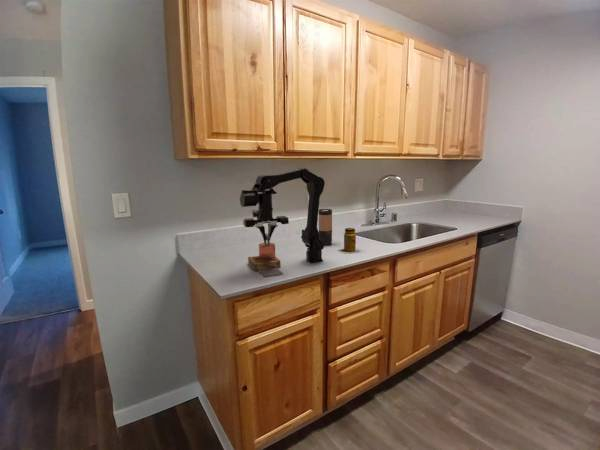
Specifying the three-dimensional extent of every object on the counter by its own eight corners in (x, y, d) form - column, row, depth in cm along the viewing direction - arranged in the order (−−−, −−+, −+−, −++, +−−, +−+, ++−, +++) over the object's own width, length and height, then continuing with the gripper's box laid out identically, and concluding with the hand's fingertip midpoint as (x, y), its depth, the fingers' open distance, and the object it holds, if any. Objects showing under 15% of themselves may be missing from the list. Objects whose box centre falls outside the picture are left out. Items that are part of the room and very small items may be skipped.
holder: (272, 260, 151) (272, 254, 150) (280, 267, 140) (280, 261, 139) (248, 263, 146) (248, 257, 146) (254, 271, 135) (254, 264, 135)
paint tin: (272, 254, 141) (272, 232, 139) (277, 259, 134) (276, 236, 132) (257, 256, 138) (256, 234, 136) (261, 261, 132) (260, 237, 130)
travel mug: (331, 242, 182) (331, 208, 178) (332, 246, 175) (333, 210, 171) (318, 242, 182) (317, 209, 178) (319, 246, 174) (319, 211, 170)
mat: (277, 268, 138) (277, 267, 138) (283, 274, 131) (283, 273, 131) (258, 271, 135) (258, 270, 135) (263, 277, 128) (263, 276, 128)
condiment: (358, 251, 163) (359, 229, 161) (345, 253, 159) (345, 230, 157) (350, 248, 169) (351, 226, 167) (337, 250, 166) (337, 228, 164)
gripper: (280, 201, 142) (281, 235, 145) (240, 204, 136) (241, 239, 139) (288, 204, 132) (289, 240, 135) (244, 207, 126) (246, 244, 129)
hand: (266, 240), depth 135 cm, fingers closed on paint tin
